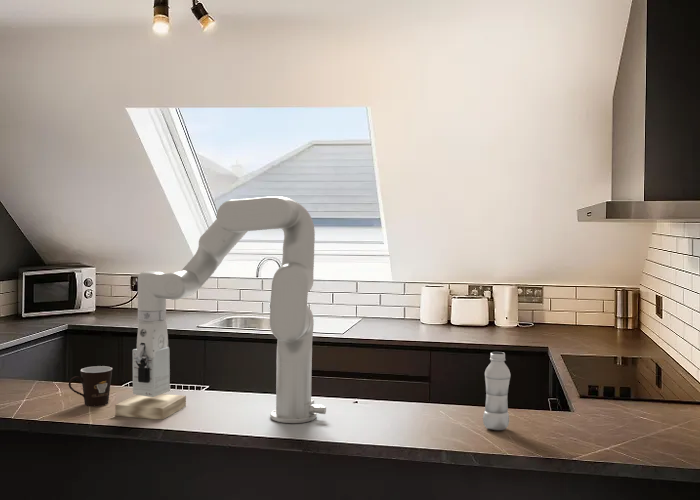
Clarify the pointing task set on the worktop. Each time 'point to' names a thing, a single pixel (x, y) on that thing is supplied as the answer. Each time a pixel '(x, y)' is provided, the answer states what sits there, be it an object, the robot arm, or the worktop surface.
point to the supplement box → (153, 374)
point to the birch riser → (150, 406)
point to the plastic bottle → (496, 393)
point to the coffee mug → (95, 385)
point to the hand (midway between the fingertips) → (151, 378)
